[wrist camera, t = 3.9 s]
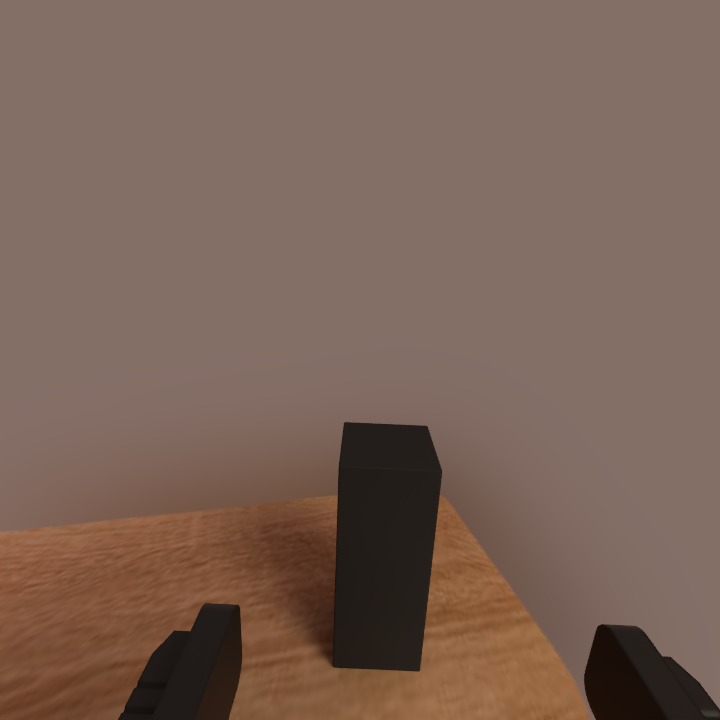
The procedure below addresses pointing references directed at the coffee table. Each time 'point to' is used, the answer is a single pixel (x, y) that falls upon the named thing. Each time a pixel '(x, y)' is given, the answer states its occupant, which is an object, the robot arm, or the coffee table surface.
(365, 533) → the post
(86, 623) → the coffee table surface
